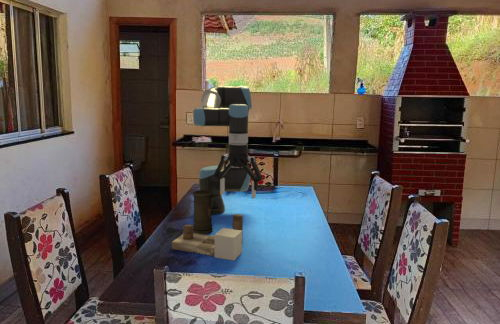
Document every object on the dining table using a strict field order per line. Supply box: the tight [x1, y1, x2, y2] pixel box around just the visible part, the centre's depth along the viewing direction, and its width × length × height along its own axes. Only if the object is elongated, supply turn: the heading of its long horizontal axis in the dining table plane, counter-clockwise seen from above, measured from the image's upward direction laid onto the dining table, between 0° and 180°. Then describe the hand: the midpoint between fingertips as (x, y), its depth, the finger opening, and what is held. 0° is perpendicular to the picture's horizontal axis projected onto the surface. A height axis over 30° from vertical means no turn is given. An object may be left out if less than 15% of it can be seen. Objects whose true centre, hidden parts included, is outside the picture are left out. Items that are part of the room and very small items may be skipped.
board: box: [171, 224, 215, 257], centre depth 157 cm, size 12×18×8 cm, turn 70°
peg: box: [232, 213, 244, 235], centre depth 161 cm, size 4×4×12 cm
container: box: [192, 189, 214, 235], centre depth 174 cm, size 9×9×18 cm
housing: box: [214, 227, 243, 261], centre depth 149 cm, size 8×8×9 cm
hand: (237, 196), depth 158 cm, fingers open, 13 cm apart
